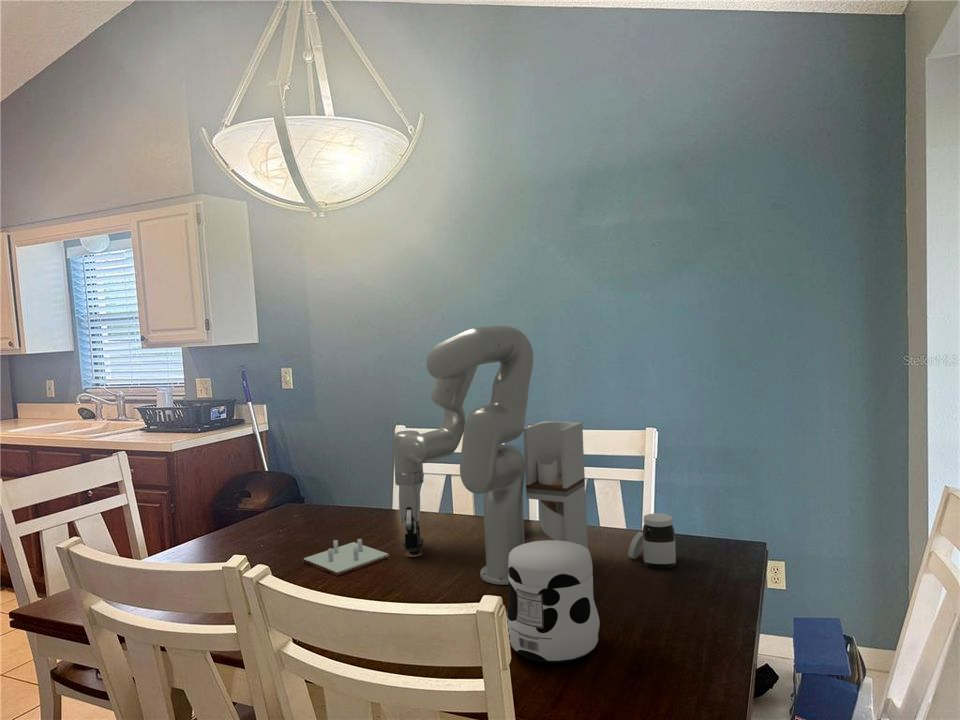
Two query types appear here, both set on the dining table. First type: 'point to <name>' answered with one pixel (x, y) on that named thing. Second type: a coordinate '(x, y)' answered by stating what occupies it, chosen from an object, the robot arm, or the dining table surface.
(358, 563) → the pin tray
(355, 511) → the dining table surface
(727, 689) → the dining table surface
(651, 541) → the spread jar
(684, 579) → the dining table surface
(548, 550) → the milk container
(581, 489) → the open shelf unit
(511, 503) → the robot arm
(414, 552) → the salt shaker
